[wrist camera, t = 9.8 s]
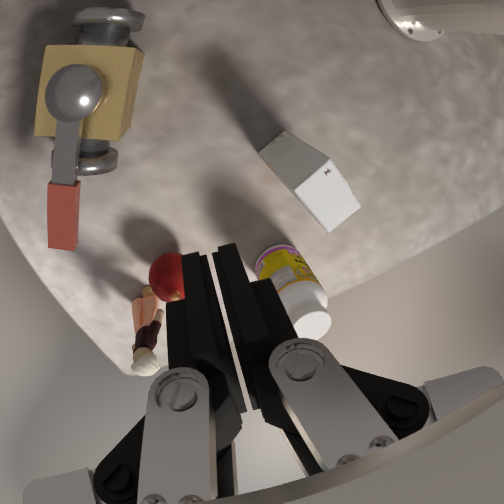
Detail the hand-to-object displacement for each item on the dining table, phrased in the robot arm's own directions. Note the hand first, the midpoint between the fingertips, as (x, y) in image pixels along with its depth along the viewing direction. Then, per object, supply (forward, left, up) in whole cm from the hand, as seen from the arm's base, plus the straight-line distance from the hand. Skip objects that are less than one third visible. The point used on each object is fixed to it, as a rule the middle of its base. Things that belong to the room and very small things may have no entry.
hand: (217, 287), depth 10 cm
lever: (+2, -10, -19) cm, 21 cm away
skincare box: (+1, +12, -27) cm, 30 cm away
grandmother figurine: (+23, -2, -27) cm, 36 cm away
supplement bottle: (+15, +15, -27) cm, 35 cm away
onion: (+16, +1, -27) cm, 32 cm away
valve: (-4, -10, -27) cm, 29 cm away
